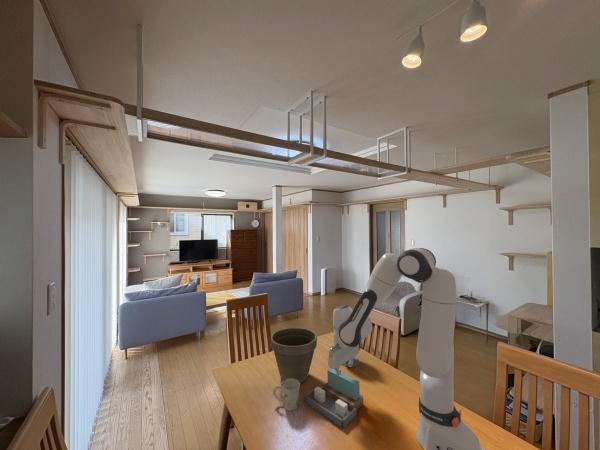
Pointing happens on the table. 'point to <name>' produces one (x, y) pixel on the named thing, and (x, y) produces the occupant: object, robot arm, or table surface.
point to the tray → (329, 410)
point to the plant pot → (294, 352)
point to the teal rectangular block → (344, 384)
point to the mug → (289, 393)
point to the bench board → (342, 397)
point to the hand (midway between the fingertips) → (344, 370)
